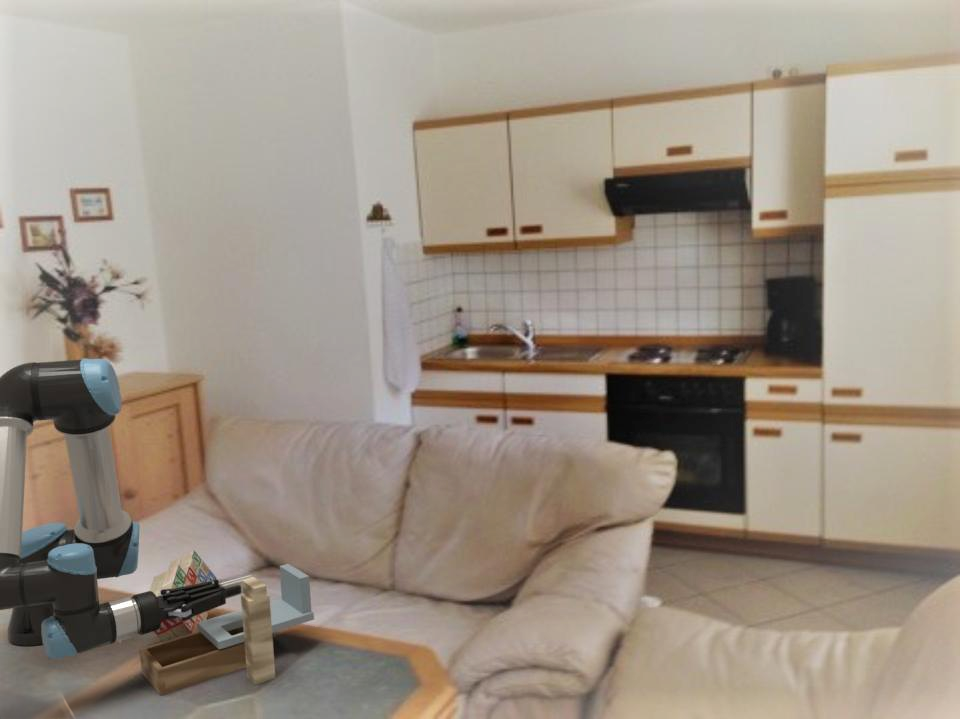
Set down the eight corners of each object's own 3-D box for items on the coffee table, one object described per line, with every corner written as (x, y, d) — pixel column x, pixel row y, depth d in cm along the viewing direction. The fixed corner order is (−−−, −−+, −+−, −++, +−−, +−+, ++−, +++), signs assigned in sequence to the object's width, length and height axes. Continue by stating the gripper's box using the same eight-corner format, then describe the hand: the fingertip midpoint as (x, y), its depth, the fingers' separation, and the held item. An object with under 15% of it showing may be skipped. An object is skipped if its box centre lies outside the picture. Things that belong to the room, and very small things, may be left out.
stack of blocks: (193, 590, 193) (162, 551, 189) (217, 578, 193) (187, 539, 188) (173, 655, 174) (139, 614, 169) (200, 643, 173) (166, 601, 169)
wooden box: (142, 676, 165) (139, 648, 165) (240, 644, 177) (238, 619, 177) (161, 699, 156) (158, 670, 155) (263, 664, 168) (261, 638, 167)
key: (245, 679, 162) (238, 581, 160) (265, 672, 165) (258, 576, 162) (257, 690, 158) (249, 589, 156) (277, 683, 160) (270, 584, 158)
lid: (197, 629, 171) (194, 587, 170) (289, 602, 183) (286, 562, 182) (219, 649, 162) (215, 604, 161) (314, 619, 174) (311, 577, 173)
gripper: (125, 623, 165) (240, 590, 180) (147, 646, 154) (268, 609, 169) (122, 586, 164) (238, 556, 179) (144, 607, 153) (265, 573, 168)
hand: (252, 582), depth 174 cm, fingers closed
